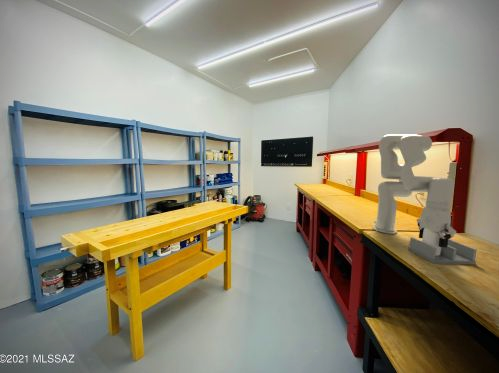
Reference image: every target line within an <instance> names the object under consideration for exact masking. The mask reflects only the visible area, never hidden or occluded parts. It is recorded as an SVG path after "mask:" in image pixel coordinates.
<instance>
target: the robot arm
mask: <svg viewBox="0 0 499 373" xmlns="http://www.w3.org/2000/svg"><path fill="white" fill-rule="evenodd" d="M432 146H433V140H432V139H431V137H429V136H428V135H424V134H423V135H421V134H420V135H419V134H399V133H398V134H394V133H393V134H392V133H391V134H386V135H384V136H382V137H381V138H380V141H379V143H378V151H379V155H380V175H381V178H382V179H385V180H391V181H382V182H380V183H379V184H378V186H377V193H378V202H377V203H378V204H377V214H376V221H375V220H374V221H373V223H374V224H375V225H373V227H372V229H373V230H375V231H376V232H379V233H382V234H389V235H390V234H393V235H394V234H397V233H398V230H397V229H395V225H396V217H397V209H398V208H397V207H398V204H397V201H396V199H395V198H408V197H410V196H411V195H412V194H413V193H427V194H426V201H425V206H424V207H423V209H422V211H421V214H420V218H417V219H416V223H417V226H418V230H419V234H418V238H419V239H422V238H423V231H424V228H426V229H429V230H431V231H433V232H436V233H439V234H440V236H441V238H440V239H439V247H447V246H448V239H450V240H452V239H451V238H453V237H454V236H455V235H457V231H456V229H454V227H452V226H451V223H452V217H451V216H452V215H451V211H450V206H451V200H452V194H453V189H454V180H453V179H452V178H451V179H450V178H445V177H444V178H443V177H437V176H425V175H422V176H421V175H420V176H419V175H417V176H416V175H414V172H413V168H414V167H417V166H419V165H421V164H423V163H424V162H425V161H426V160H427V155H426V154H425V152H427V151H429V150H430V149H431V148H432ZM394 149H395V150H400V153H401V155H402V158H403V161H404V164H399V162H398V161H399V157H398V154H397V153H396V152H395V151H394ZM392 180H398V181H392Z"/></svg>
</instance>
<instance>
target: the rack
mask: <svg viewBox="0 0 499 373" xmlns="http://www.w3.org/2000/svg"><path fill="white" fill-rule="evenodd" d="M407 249H408V251H410V252H412V253H413V254H416V255H417V256H418V257H420V258H423V259H424V260H427V261H428V262H430V263H432V264H442V265H443V264H445V265H447V264H448V265H473V266H474V265H477V261H476V256H477V252H478V250H477V248H474V247H471V246H468V245H467V244H466V245H465V244H463V243H461V242H458V241H455V240H453V239H448V246H447V247H441V252H440V255H439V256H435V255H436V249H437V248H435V247H432V246H430V245H428V244H426V243H424V242H422V240H420V239H417V238H415V237H410V239H409V246H407Z"/></svg>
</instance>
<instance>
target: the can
mask: <svg viewBox="0 0 499 373" xmlns="http://www.w3.org/2000/svg"><path fill="white" fill-rule="evenodd" d="M440 238H441V236H440V234H439V233H436V232H433V231H431V230H429V229H426V228H424V231H423V238H421V241H422V242H424V243H426V244H428V245H430V246H432V247H435V248H437V249H436V255H435V256H439V255H440V252H441V247H439V239H440Z"/></svg>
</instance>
